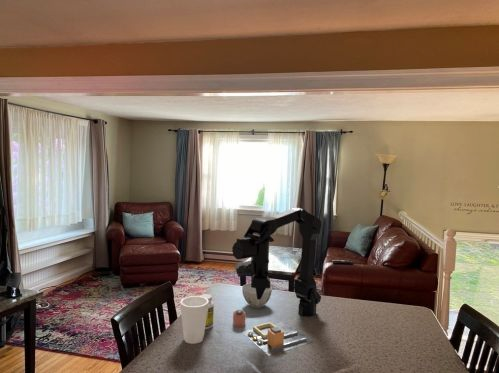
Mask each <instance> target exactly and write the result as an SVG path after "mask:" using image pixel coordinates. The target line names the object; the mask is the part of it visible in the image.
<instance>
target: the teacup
mask: <svg viewBox="0 0 499 373" xmlns="http://www.w3.org/2000/svg"><path fill="white" fill-rule="evenodd" d="M241 288H242V290H241V292H242V295H243V296H242V297H243V298H244V300H245V302H246V303H247V304H248V305H249V306H250V307H251V308H253V309H260V308H263V307H264V306H265V305H267V303H268V302H269V300H270V299H271V296H272V292H273V287H272V285H270V288H266V289H265V291H264V293H263V295H262V297H261V299H260V300H258V299H257V294H256V288H252V287H251V282H249V283H246V284H243V285H242V287H241Z"/></svg>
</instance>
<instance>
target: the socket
mask: <svg viewBox="0 0 499 373" xmlns="http://www.w3.org/2000/svg"><path fill="white" fill-rule="evenodd" d="M273 324H274V323H272V322H270V321H269V322H265V323H261V324H258V325H253V326H252V329H253V330H254V331H255V332H256V333H258V334H259V335H260V336H261V337H263V338H264V339H265V338H268V333H267V334H264V333H263V332H261V331H260V330H259V329H261V328H265V327H269V326H270V327H271V328H274V327H276V326H274V325H273Z"/></svg>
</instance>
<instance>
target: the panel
mask: <svg viewBox="0 0 499 373" xmlns="http://www.w3.org/2000/svg"><path fill="white" fill-rule="evenodd" d="M272 324H273V325H274V326H276V327H278V328H279V329H281V330H282V331H284V344H282V345H278V346H275V347H271V346H270V345H269V344H268V343H267V338H265V339H264V338H263V337H261V336H260V335H259V334H258V333H256V332H255V331H254V330H253V328H251V329H247V330H244V331H242V332H241V333H242V334H243V335H244V336H246V337H247V338H248V339H249V340H250V341H251V342H252V343H253V344H255V345H256V346H257V347H258V348H259V349H260V350H261V351H262V352H264V354H266V355H267V356H269V357H271V356H273V355H277V354H279V353H283V352H285V351H289V350H293V349H295V348H298V347H302V346H306V345H309V344H312V343H314V341H313V340H311V339H310V338H308V337H307V336H306V335H305V334H302V333H301V332H300V331H298V330H297V329H295V328H294V327H293V326H291V325H289V324H288V323H287V322H285V320H284V321H279V322H276V323H272ZM269 329H271V327H270V326H269V327H265V328H261V329H259V330H260V331H261V332H263V333H264V334H267V333H268V330H269Z"/></svg>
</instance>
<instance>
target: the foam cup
mask: <svg viewBox="0 0 499 373" xmlns="http://www.w3.org/2000/svg"><path fill="white" fill-rule="evenodd" d="M179 302H180V303H179V309H180V314H181V323H182V331H183V332H182V334H183V338H184V339H183V340H184V342H185V343H187V344H192V345H193V344H199V343H201V342H203V340H204V336H205V331H206V329H205V325H206V318H207V312H208V308H209V301H208V299H207V298H205V297H201V296H200V295H192V296H186V297H184V298H182V299H180V301H179Z"/></svg>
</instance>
